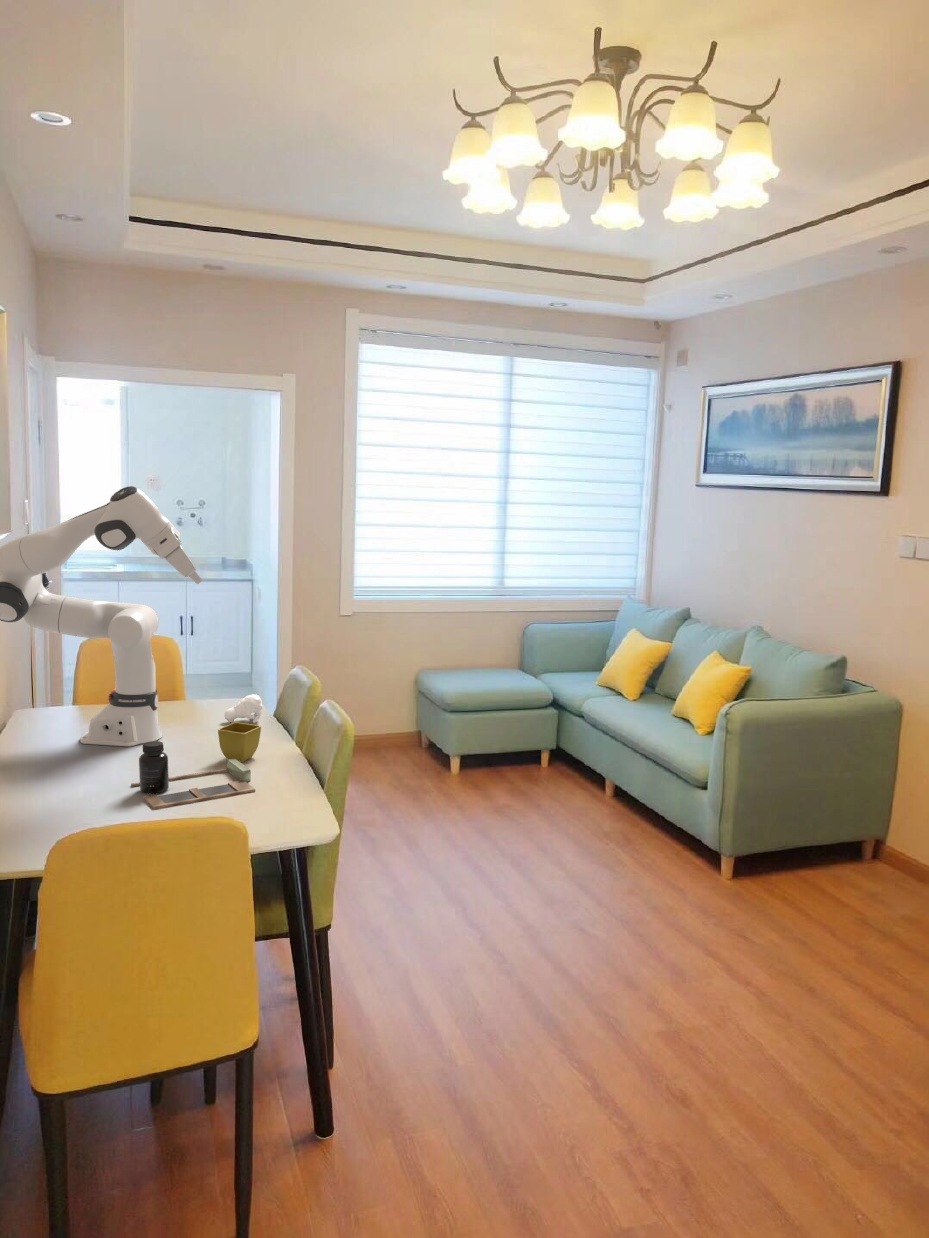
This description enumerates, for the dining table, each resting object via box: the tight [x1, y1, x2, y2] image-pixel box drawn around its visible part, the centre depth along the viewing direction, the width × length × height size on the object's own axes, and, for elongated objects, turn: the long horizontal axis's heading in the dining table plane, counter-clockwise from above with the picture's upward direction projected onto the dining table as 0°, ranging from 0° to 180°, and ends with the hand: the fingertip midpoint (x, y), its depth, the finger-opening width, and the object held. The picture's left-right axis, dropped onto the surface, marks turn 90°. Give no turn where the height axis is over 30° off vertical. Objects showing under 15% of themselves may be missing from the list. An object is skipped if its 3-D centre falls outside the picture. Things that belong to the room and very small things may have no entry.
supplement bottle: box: [138, 740, 170, 795], centre depth 226 cm, size 7×7×12 cm
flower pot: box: [217, 721, 262, 763], centre depth 253 cm, size 9×9×9 cm
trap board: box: [130, 759, 256, 810], centre depth 229 cm, size 27×19×3 cm
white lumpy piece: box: [223, 694, 263, 724], centre depth 291 cm, size 6×8×12 cm
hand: (196, 576), depth 249 cm, fingers open, 8 cm apart
